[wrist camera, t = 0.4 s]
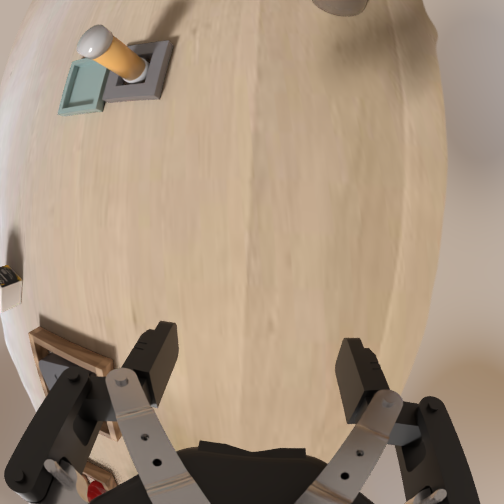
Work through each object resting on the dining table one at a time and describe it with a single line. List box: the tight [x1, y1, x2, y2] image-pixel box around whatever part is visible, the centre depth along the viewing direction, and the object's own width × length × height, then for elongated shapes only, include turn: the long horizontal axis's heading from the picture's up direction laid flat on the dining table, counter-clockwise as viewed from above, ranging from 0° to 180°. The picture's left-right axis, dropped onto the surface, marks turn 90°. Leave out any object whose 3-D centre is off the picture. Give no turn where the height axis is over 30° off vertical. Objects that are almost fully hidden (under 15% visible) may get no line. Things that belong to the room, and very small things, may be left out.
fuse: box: [77, 25, 150, 84], centre depth 29 cm, size 5×5×14 cm
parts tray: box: [58, 58, 110, 116], centre depth 36 cm, size 11×10×2 cm
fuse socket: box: [102, 40, 173, 103], centre depth 35 cm, size 10×10×2 cm
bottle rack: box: [82, 461, 117, 492], centre depth 59 cm, size 30×17×5 cm, turn 172°
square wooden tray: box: [28, 326, 122, 442], centre depth 48 cm, size 22×22×4 cm
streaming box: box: [39, 352, 96, 390], centre depth 47 cm, size 14×14×5 cm
